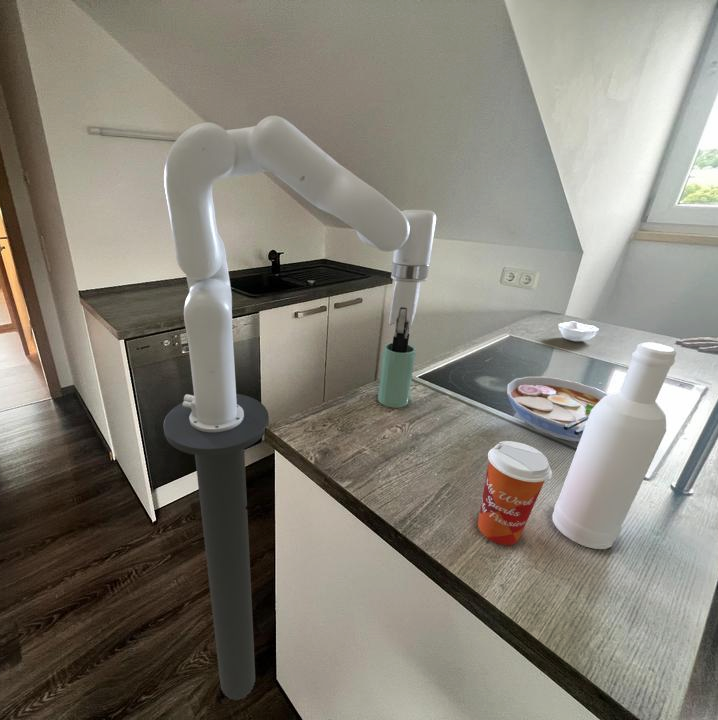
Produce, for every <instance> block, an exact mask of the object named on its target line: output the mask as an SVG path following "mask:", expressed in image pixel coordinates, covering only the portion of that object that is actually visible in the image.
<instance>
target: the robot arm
mask: <svg viewBox="0 0 718 720" xmlns="http://www.w3.org/2000/svg"><path fill="white" fill-rule="evenodd" d="M268 172H270V173H271V174H273V175H274V176H275V177H277V178H278V179H279V180H281V181H282V182H283V183H285V184H286V185H287V186H288V187H290V188H291V189H292V190H294V192H296V193H297V194H298V195H300V196H301V197H302V198H304V199H305V200H306V201H307V202H309V203H310V204H311V205H313V206H314V207H316V208H318V209H319V210H321V211H323V212H326V213H328V214H330V215H332V216H334V217H336V218H338V219H339V220H341V221H342V222H343V223H345V224H346V225H348V226H349V227H350V228H352V229H353V230H355V231H356V234H357V238H358V239H359V240H360V241H361V242H362V243H363V244H365V245H367V246H369V247H371V248H374V249H377V250H379V251H382V252H385V253H386V252H387V253H388V252H393V256H392V263H391V266H392V267H391V273H390V278H391V279H392V280H394V285H393V291H392V297H391V305H390V312H389V318H388V325H389V326H392V325H395V326H394V327H395V328H394V335H393V337H392V342H393V345H392V351H394V352H399V353H406V351H407V348H408V344H409V340H410V327H412V326H413V321H414V319H415V316H416V312H417V307H418V302H419V297H420V291H421V283H422V282H426V281H428V277H429V270H430V265H431V264H430V262H431V256H432V250H433V242H434V237H435V230H436V229H435V228H436V223H437V222H436V221H437V216H436V213H435V212H434V211H433V210H429V209H404V210H401V209H400V208H398V207H397V206H396V205H395V204H393V203H392V202H391V201H390V200H389V199H388V198H386V197H385V196H384V195H383V194H382V193H380V192H379V191H378V190H377V189H376V188H374V187H373V186H371V185H370V184H368V183H367V182H365V181H364V180H362V179H361V178H359V177H358V176H357V175H355V173H353V172H352V171H350V170H349V169H347V168H346V167H344V166H343V165H341V164H340V163H339V162H337V161H336V160H335V159H334V158H333V157H332V156H330V154H328V153H326V151H324V150H323V149H322V148H321V147H320V146H318V145H317V144H316V143H315V142H314V141H312V140H311V138H309V137H307V135H306V134H304V133H303V132H302V131H301V130H300V129H298V128H297V127H296V126H295V125H293V123H291V122H290V121H288V120H287V119H286V118H284V117H281V116H279V115H269V116H266V117H264V118H263V119H261V120H260V121H259V122H258V123H257V124H256V125H253V126H248V127H247V126H246V127H240V128H233V129H225V128H224V127H222V126H221V125H219V124H217V123H213V122H209V121H208V122H207V121H206V122H200V123H197V124H195V125H193V126H191V127H189V128H188V129H186V130H185V131H184V132H183V133H181V134H180V135H179V137H178V138H177V139H176V140H175V141H174V142H173V144H172V146H171V148H170V150H169V152H168V154H167V157H166V160H165V164H164V174H163V181H164V182H163V183H164V191H165V197H166V201H167V208H168V214H169V223H170V227H171V233H172V239H173V243H174V251H175V257H176V258H175V259H176V262H177V264H178V267H179V268H180V270H181V271H182V273H184V274H185V278H186V281H187V287H188V295H187V297H186V299H185V302H184V306H183V320H184V327H185V332H186V338H187V343H188V353H189V361H190V371H191V378H192V379H191V380H192V388H193V389H192V391H193V394H188V393H187V394H185V395H184V396H183V402H182V403H183V404H182V405H183V407H187V408H188V407H189V408H191V409H192V412H191V414H190V417H189V418H190V423H191V425H192V426H193V427H194V428H195V429H197V430H200V431H203V432H210V433H215V432H223V431H227V430H230V429H232V428H234V427H236V426H237V425H239V424H240V423H241V422H242V420H243V418H244V411H243V409H242V408H241V407H240V406H239V405H237V401H236V394H237V384H236V367H235V365H236V364H235V350H234V349H235V348H234V333H233V332H234V331H233V311H232V310H233V294H232V288H231V287H232V286H231V280H230V272H229V265H228V259H227V253H226V247H225V243H224V241H223V239H222V237H221V236H220V234H219V232H218V224H217V220H216V208H215V203H214V197H213V187H214V183H215V180H222V179H228V178H235V177H243V176H251V175H256V174H262V173H268ZM404 328H406V330H405V329H404Z"/></svg>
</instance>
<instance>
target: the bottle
mask: <svg viewBox="0 0 718 720" xmlns="http://www.w3.org/2000/svg"><path fill="white" fill-rule="evenodd" d="M676 355H677V351H676V350H675V348H674V347H672V346H668V345H666V344H661V343H658V342H657V343H656V342H648V341H647V342H641V343H638V344H637V346H636V348H635V350H634V351H633V352H632V354H631V358H632V359H631V360H630V363H629V366H628V368H627V371H626V374H625V376H624V378H623V382H622V384H621V386H620V389H619V391H616V392H613V393H611V394H610V393H609V394H610V395H607V396H604V397H603V398H602V399H601V400H600V401H599V402H598V403H597V404H596V405H595V406H594V407H593V409H592V410H591V412H590V415H589V417H588V420H587V423H586V426H585V428H584V431H583V434H582V436H581V439H580V442H578V445H577V447H576V450H575V453H574V456H573V458H572V461H571V464H570V466H569V469H568V472H567V474H566V478H565V480H564V481H563V482H564V483H563V485H562V488H561V491H560V493H559V497H558V499H557V500H556V502H555V505H554V509H553V513H552V522H553V524H554V526H555V528H556V529H557V530H558V531H559V532H560V533H561V534H562V535H563V536H565V537H566V538H568V539H569V540H570V541H572V542H574V543H576V544H579V545H580V546H582V547H586V548H590V549H592V550H606V549H609V548H611V547H612V546H613V545H614V543H615V542H616V540H617V538H618V536H619V534H620V533H621V531H622V526H623V524H624V522H625V520H626V518H627V516H628V513H629V511H630V509H631V507H632V506H633V503H634V502H635V499H636V497H637V495H638V492H639V491H640V488H641V486H642V484H643V481H644V480H645V477H646V476H647V473H648V471H649V469H650V466H651V465H652V463H653V460H654V458H655V456H656V454H657V452H658V450H659V447H660V446H661V443H662V441H663V439H664V437H665V435H666V433H667V415H666V413H665V412H664V410H663V409H662V408H661V406H660V405H659V404H658V403H657V398H658V396H659V394H660V392H661V389H662V387H663V385H664V383H665V380H666V379H667V376H668V373H669V371H670V369H671V367H672V366H673V365H674V364H675V363H676Z"/></svg>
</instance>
